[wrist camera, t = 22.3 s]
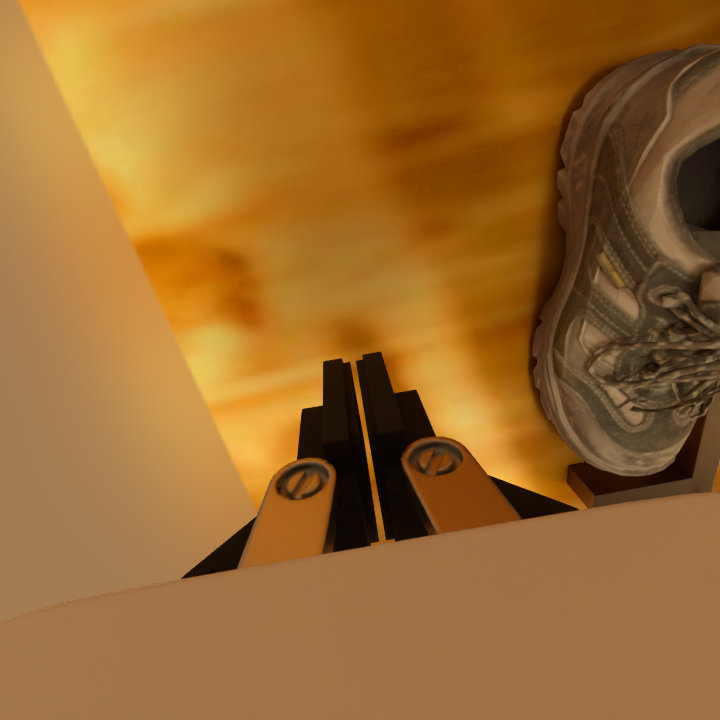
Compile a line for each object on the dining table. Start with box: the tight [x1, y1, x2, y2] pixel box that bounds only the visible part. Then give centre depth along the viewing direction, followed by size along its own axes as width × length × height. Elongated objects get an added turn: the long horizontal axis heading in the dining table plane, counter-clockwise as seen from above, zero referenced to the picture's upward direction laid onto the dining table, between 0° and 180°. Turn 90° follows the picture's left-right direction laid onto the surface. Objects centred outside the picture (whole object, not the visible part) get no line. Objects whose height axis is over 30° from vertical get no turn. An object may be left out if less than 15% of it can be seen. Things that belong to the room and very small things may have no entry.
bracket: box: [568, 358, 720, 509], centre depth 21 cm, size 31×8×3 cm, turn 9°
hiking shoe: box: [532, 44, 720, 476], centre depth 19 cm, size 9×21×12 cm
